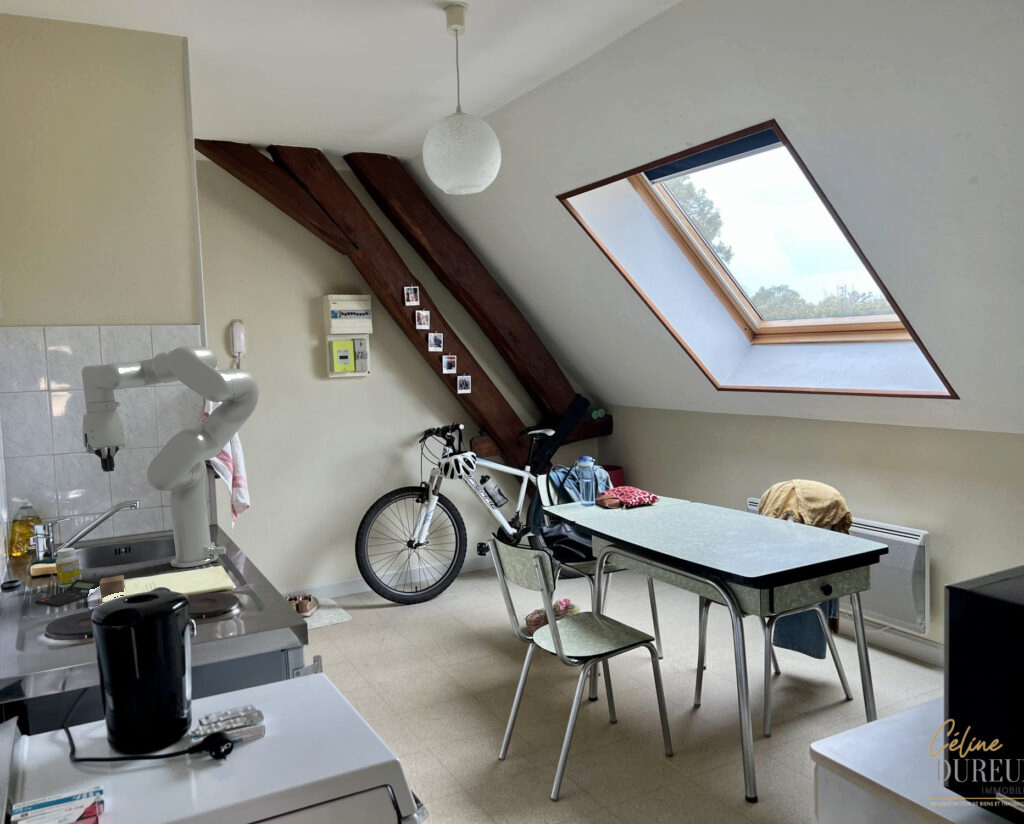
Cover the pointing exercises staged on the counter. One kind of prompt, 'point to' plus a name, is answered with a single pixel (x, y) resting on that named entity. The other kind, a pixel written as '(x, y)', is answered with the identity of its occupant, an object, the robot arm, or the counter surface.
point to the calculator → (70, 594)
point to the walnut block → (112, 585)
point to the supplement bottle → (67, 567)
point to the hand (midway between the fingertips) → (108, 471)
